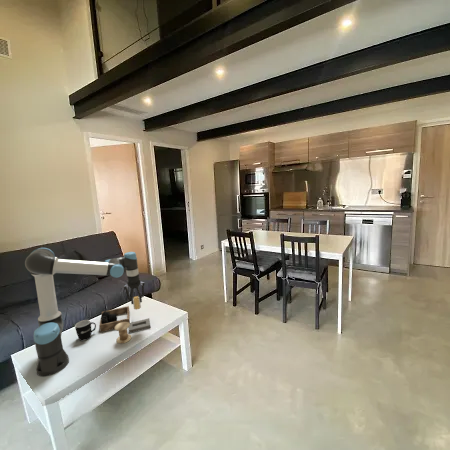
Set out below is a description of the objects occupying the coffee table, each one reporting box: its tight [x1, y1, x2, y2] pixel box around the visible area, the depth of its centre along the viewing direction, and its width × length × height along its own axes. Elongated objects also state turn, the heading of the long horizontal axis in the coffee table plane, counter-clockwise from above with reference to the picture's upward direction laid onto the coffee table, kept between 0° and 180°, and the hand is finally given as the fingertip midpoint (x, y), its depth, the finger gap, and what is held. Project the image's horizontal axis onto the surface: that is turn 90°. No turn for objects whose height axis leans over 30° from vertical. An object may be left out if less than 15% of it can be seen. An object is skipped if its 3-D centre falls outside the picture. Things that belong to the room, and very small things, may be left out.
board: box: [128, 317, 152, 334], centre depth 176 cm, size 14×10×2 cm
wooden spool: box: [114, 322, 132, 345], centre depth 162 cm, size 9×9×10 cm
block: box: [133, 295, 141, 311], centre depth 172 cm, size 3×3×8 cm
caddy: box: [98, 305, 131, 333], centre depth 185 cm, size 19×21×5 cm
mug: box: [74, 319, 97, 341], centre depth 168 cm, size 12×9×10 cm
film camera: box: [100, 310, 118, 324], centre depth 183 cm, size 15×10×9 cm, turn 20°
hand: (137, 307), depth 173 cm, fingers closed on block, 3 cm apart
